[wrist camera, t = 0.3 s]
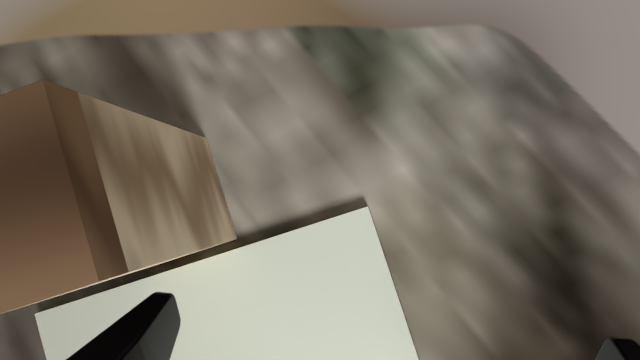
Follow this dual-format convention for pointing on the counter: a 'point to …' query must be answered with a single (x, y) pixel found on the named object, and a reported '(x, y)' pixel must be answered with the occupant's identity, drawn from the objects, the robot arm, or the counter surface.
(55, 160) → the birch block
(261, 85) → the counter surface
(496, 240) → the counter surface
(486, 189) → the counter surface
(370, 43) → the counter surface
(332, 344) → the sage mat
